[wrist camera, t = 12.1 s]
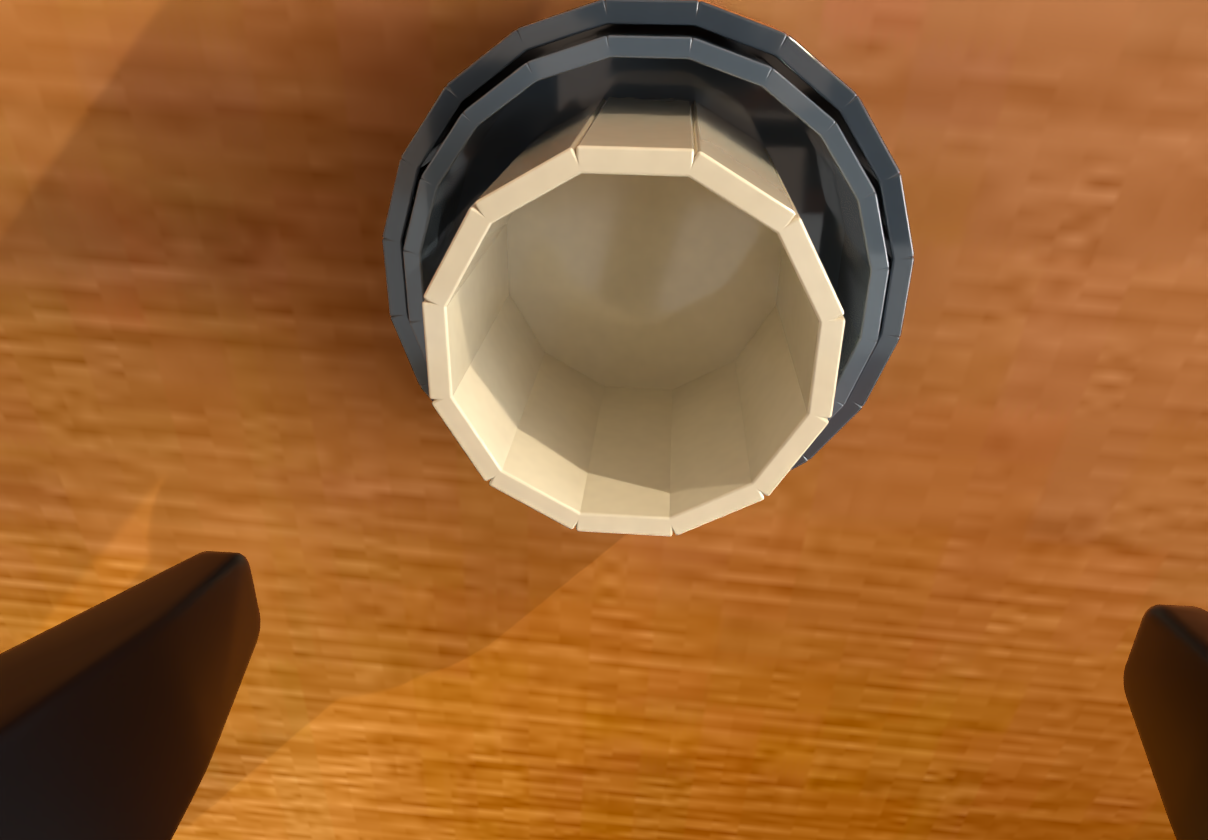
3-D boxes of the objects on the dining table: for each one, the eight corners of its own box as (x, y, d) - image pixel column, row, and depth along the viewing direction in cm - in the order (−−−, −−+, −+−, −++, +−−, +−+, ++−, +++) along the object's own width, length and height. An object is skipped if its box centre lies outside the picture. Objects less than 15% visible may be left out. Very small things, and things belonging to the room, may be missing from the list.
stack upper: (826, 435, 22) (850, 512, 19) (459, 418, 22) (423, 489, 19) (883, 30, 18) (926, 41, 15) (434, 21, 18) (382, 30, 15)
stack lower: (846, 456, 22) (868, 523, 19) (439, 436, 23) (407, 497, 20) (916, 0, 17) (959, 4, 15) (405, -8, 18) (357, -6, 15)
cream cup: (779, 399, 21) (813, 545, 15) (500, 386, 21) (438, 524, 16) (813, 101, 18) (870, 153, 12) (488, 93, 18) (407, 140, 13)
